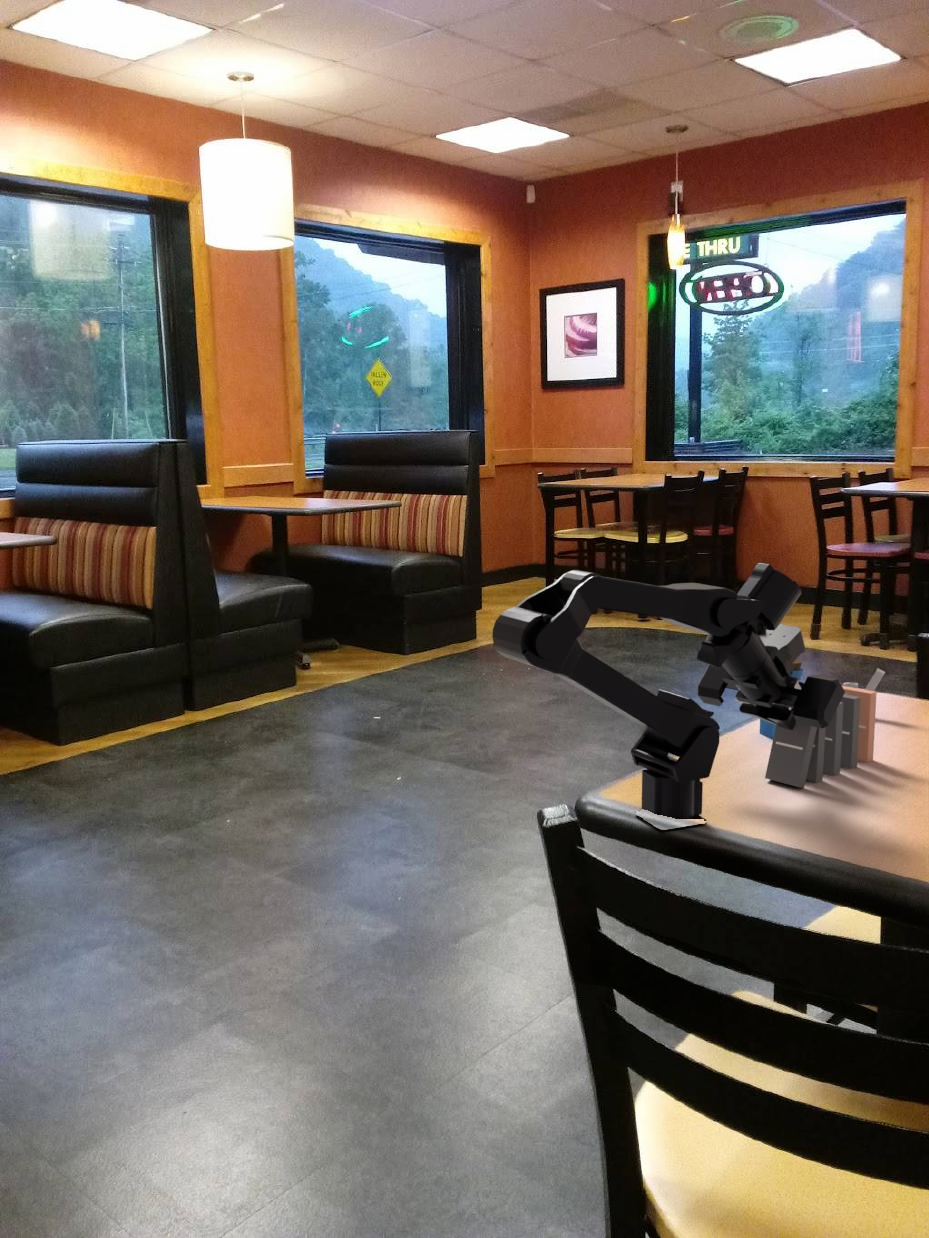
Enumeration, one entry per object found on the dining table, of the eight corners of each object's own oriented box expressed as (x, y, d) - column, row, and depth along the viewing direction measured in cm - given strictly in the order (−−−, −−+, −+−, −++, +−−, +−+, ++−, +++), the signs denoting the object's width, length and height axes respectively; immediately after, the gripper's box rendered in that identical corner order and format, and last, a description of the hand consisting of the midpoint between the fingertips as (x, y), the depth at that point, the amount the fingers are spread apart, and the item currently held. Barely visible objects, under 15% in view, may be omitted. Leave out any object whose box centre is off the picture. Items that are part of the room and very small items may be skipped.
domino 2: (815, 783, 142) (820, 710, 140) (783, 774, 146) (786, 703, 144) (822, 780, 143) (826, 708, 141) (789, 772, 147) (793, 701, 145)
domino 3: (833, 775, 145) (837, 704, 143) (801, 767, 149) (804, 698, 147) (840, 773, 146) (843, 702, 144) (807, 765, 150) (810, 696, 148)
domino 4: (850, 768, 148) (854, 699, 146) (818, 761, 151) (821, 692, 150) (856, 766, 149) (860, 697, 147) (824, 758, 153) (827, 691, 151)
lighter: (836, 713, 177) (838, 666, 175) (837, 711, 178) (840, 664, 177) (881, 718, 174) (884, 670, 172) (882, 715, 175) (885, 668, 174)
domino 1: (797, 786, 139) (813, 712, 139) (764, 778, 143) (780, 705, 143) (804, 788, 140) (820, 713, 140) (771, 779, 144) (786, 707, 144)
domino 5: (867, 762, 151) (870, 693, 149) (834, 754, 154) (838, 687, 153) (873, 759, 152) (876, 691, 150) (840, 752, 155) (844, 685, 154)
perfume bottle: (781, 744, 160) (784, 666, 158) (759, 733, 166) (762, 658, 164) (817, 740, 162) (820, 663, 160) (794, 730, 167) (797, 655, 165)
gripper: (840, 615, 127) (882, 689, 136) (711, 599, 141) (757, 667, 150) (801, 690, 124) (847, 761, 133) (673, 666, 138) (722, 732, 147)
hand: (791, 726), depth 141 cm, fingers closed
